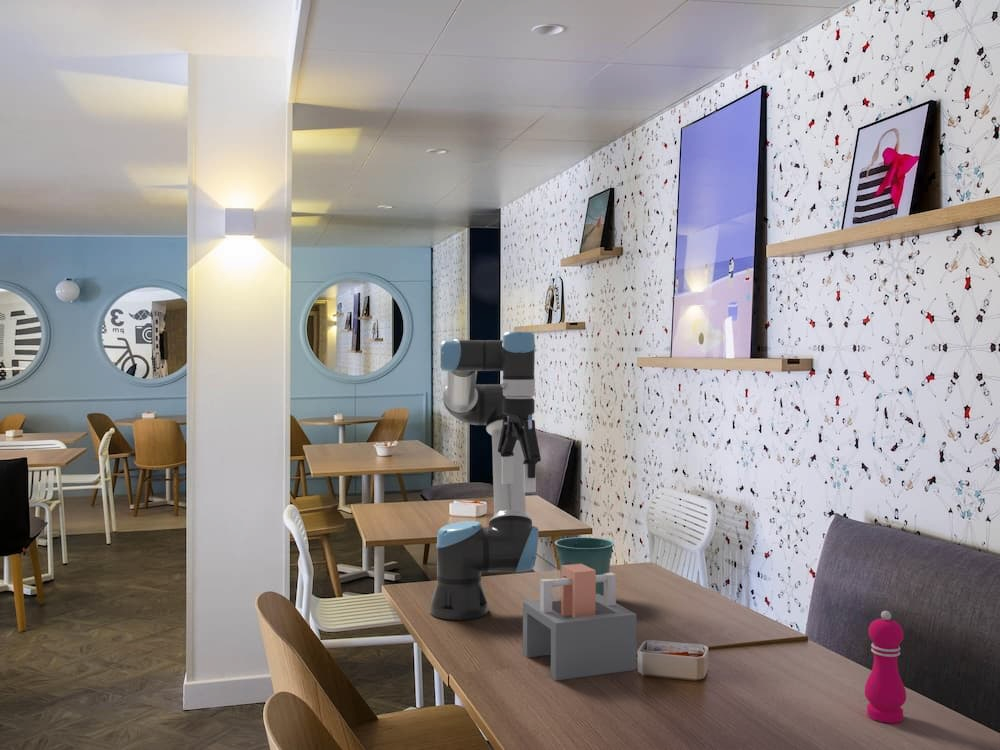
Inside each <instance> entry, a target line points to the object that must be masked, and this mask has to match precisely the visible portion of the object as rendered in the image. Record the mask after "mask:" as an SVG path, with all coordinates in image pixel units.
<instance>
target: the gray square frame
mask: <svg viewBox="0 0 1000 750" xmlns="http://www.w3.org/2000/svg"><path fill="white" fill-rule="evenodd" d="M597 582H604V596H602V595H600V594H596V615H592V616H583V617H574V618H572V615H567V616H563V615H561V597H553V588H554V587H561V586H566V585H572V584H573V580H571V579H569V578H561V577H560V578H553V579H552V578H551V579H550V578H541V579H539V599H534V600H533V599H532V600H523V601H522V655H523V656H524V657H526V658H534V657H535V658H536V657H542V656H550V677H551V679H552V680H555V682H557V681H562V680H569V679H571V680H572V679H579V678H584V677H593V676H599V675H600V676H601V675H608V674H615V673H622V672H629V671H635V670H637V623H638V622H637V616H638V615H637V613H635V612H633V611H631V610H629V609H627V608H625V607H624V606H622V605H620V604H618V603H617V574H615V573H614V572H609V573H604V574H603V575H596V583H597Z"/></svg>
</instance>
